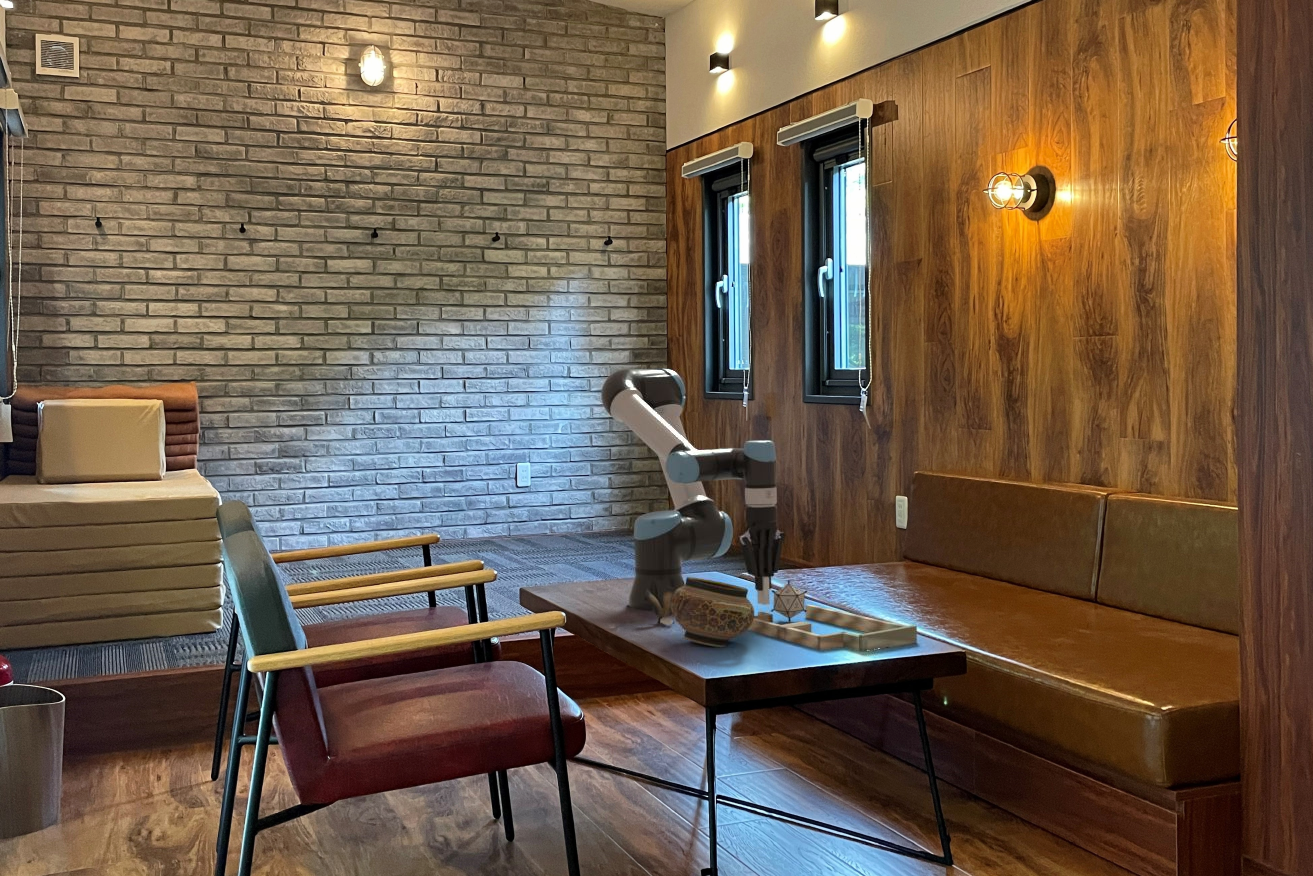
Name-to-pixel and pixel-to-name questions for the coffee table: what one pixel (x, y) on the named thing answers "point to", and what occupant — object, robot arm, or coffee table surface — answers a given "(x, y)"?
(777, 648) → the coffee table surface
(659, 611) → the tan upright piece
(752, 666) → the coffee table surface
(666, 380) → the robot arm
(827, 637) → the brown wall maze
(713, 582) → the ceramic bowl
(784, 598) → the game die
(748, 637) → the coffee table surface
